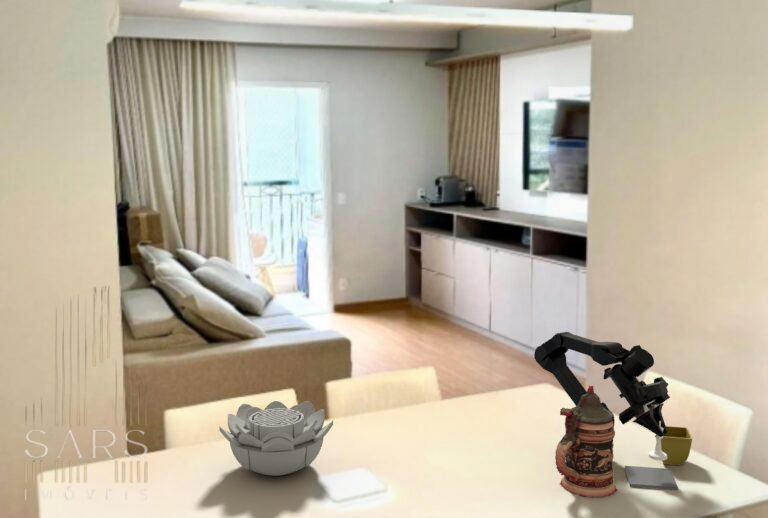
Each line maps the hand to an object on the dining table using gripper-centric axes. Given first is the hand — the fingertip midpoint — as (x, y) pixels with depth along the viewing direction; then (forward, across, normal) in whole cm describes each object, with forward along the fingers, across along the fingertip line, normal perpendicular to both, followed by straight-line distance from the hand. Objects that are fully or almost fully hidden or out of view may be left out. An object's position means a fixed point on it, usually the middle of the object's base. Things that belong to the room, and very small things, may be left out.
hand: (664, 434), depth 211 cm
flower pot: (+7, +14, +12) cm, 20 cm away
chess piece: (+4, 0, +6) cm, 7 cm away
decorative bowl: (-46, -66, +67) cm, 105 cm away
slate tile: (+7, -1, +11) cm, 13 cm away
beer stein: (0, -17, +19) cm, 25 cm away
